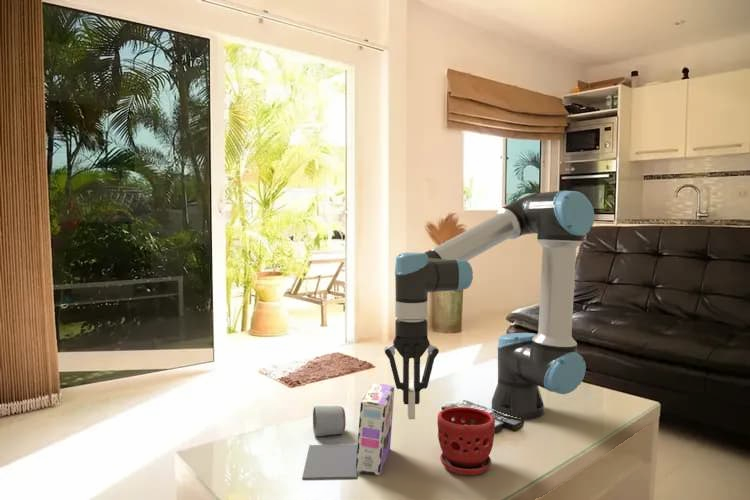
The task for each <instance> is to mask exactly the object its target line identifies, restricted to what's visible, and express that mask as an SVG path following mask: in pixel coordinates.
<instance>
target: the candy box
mask: <svg viewBox="0 0 750 500" xmlns="http://www.w3.org/2000/svg"><path fill="white" fill-rule="evenodd" d="M395 387H396V385H389V384H384V383H383V384H382V383H376V382H372V384H371V386H370V388H369V389H368V390H367V392H366V393H365V395H364V397H363V398H362V400H361V401H360V409H359V422H358V436H357V459H356V471H357V472H360V473H366V474H370V475H374V476H381V474H382V473H381V472H382V471H383V468H384V465H385V463H386V460H387V457H388V454H389V453H390V449H391V444H392V443H391V441H392V429H393V428H392V427H393V415H394V414H393V413H394V401H395V400H394V399H395Z"/></svg>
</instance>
